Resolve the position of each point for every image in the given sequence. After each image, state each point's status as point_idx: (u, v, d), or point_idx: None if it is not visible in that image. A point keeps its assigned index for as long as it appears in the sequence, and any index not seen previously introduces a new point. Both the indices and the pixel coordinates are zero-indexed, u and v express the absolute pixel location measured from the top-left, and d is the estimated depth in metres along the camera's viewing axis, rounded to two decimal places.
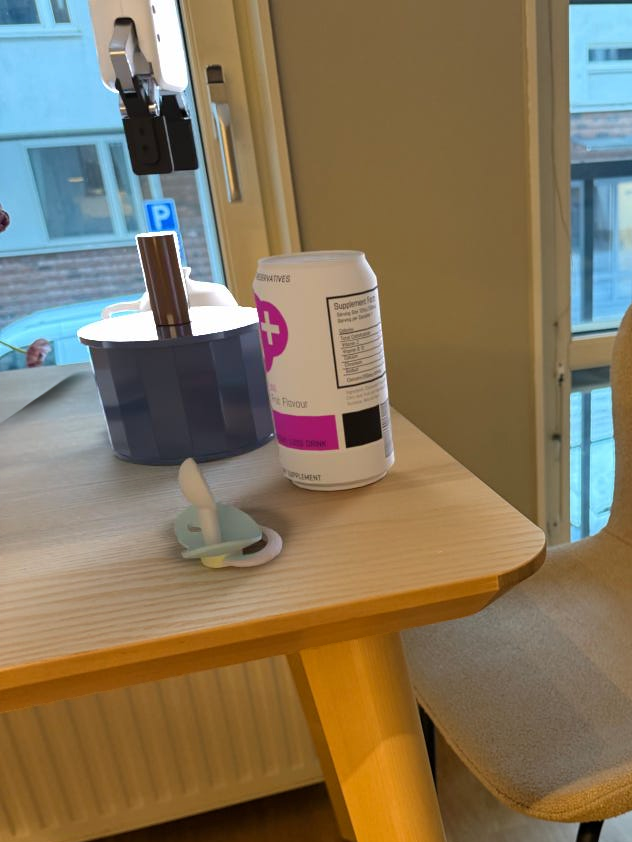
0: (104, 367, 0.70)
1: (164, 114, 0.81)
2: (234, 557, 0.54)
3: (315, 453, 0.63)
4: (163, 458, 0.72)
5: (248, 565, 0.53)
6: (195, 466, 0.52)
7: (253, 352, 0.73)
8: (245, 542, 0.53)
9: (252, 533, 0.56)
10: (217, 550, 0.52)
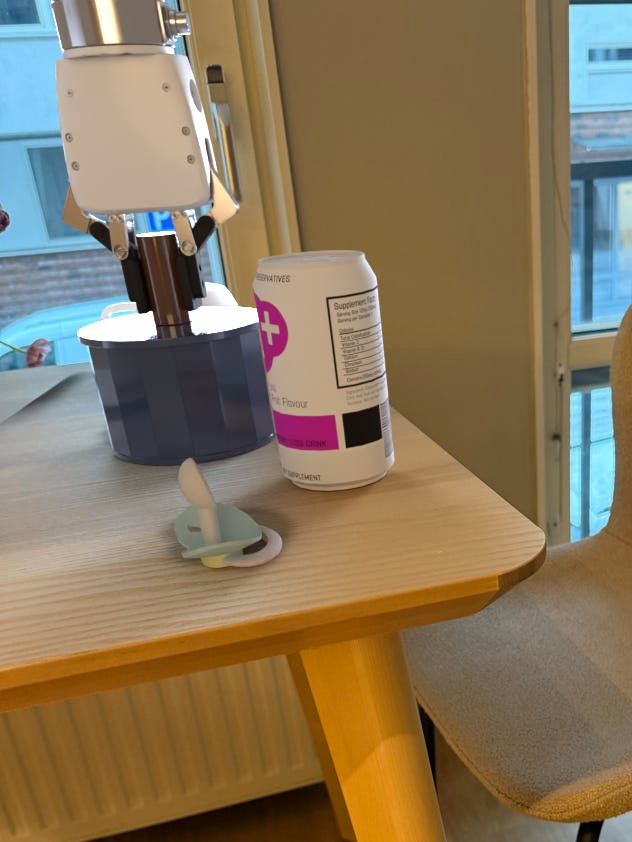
0: (104, 367, 0.70)
1: None
2: (234, 557, 0.54)
3: (315, 453, 0.63)
4: (163, 458, 0.72)
5: (248, 565, 0.53)
6: (195, 466, 0.52)
7: (253, 352, 0.73)
8: (245, 542, 0.53)
9: (252, 533, 0.56)
10: (217, 550, 0.52)
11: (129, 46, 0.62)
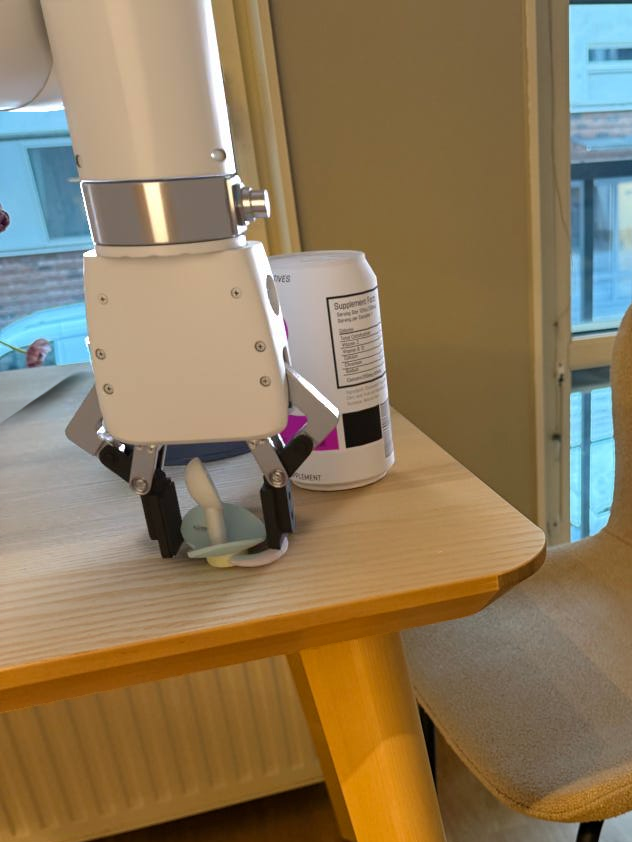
0: None
1: None
2: (240, 557, 0.54)
3: (315, 453, 0.63)
4: None
5: (254, 565, 0.53)
6: (201, 466, 0.52)
7: None
8: (251, 542, 0.53)
9: (258, 533, 0.56)
10: (223, 550, 0.52)
11: (188, 245, 0.45)
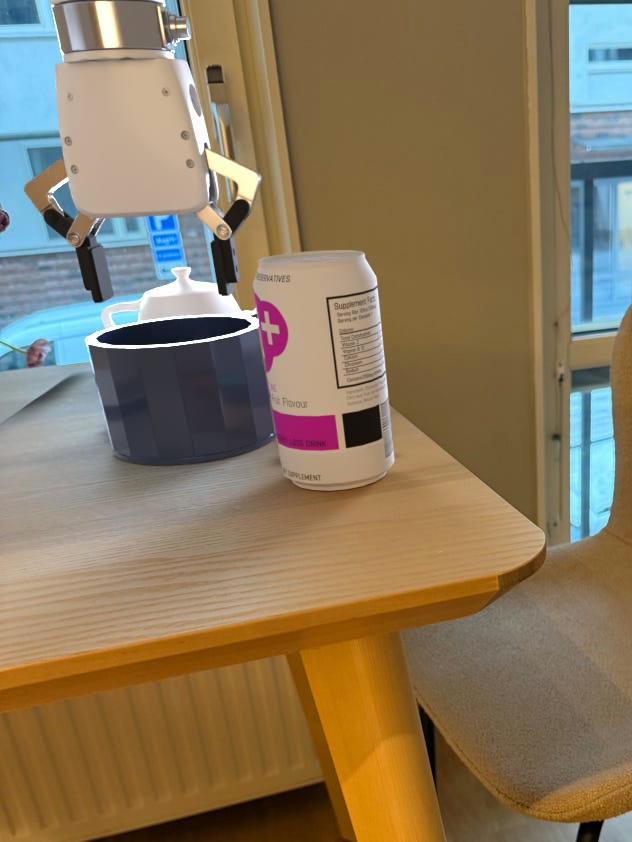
0: (104, 367, 0.70)
1: None
2: None
3: (315, 453, 0.63)
4: (163, 458, 0.72)
5: None
6: None
7: (253, 352, 0.73)
8: None
9: None
10: None
11: (129, 51, 0.62)
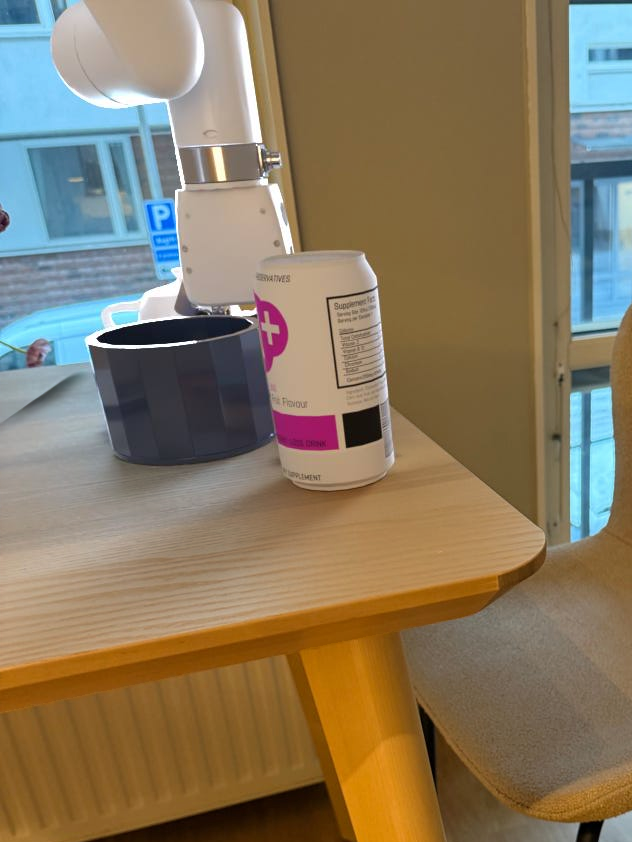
0: (104, 367, 0.70)
1: None
2: None
3: (315, 453, 0.63)
4: (163, 458, 0.72)
5: None
6: None
7: (253, 352, 0.73)
8: None
9: None
10: None
11: (237, 182, 0.80)
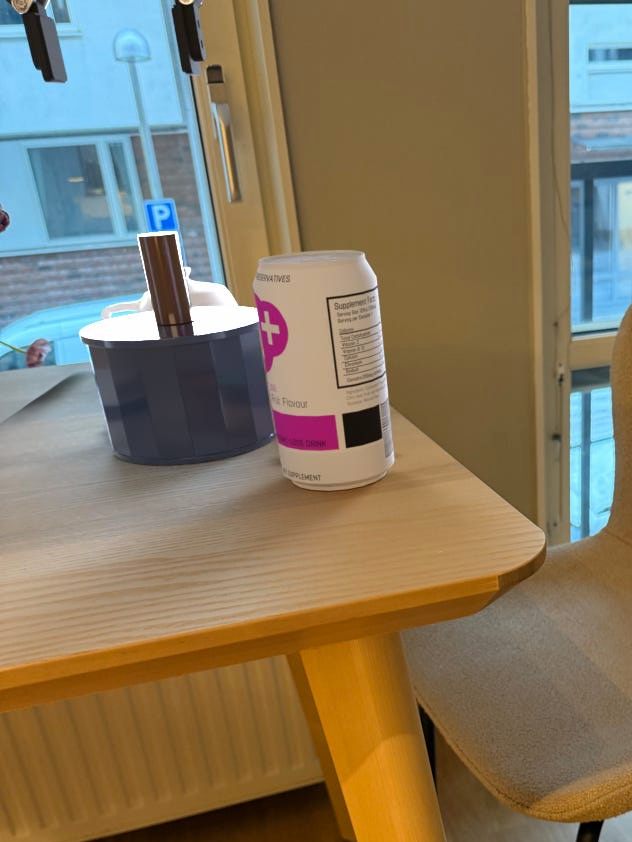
0: (104, 367, 0.70)
1: None
2: None
3: (315, 453, 0.63)
4: (163, 458, 0.72)
5: None
6: None
7: (253, 352, 0.73)
8: None
9: None
10: None
11: None
